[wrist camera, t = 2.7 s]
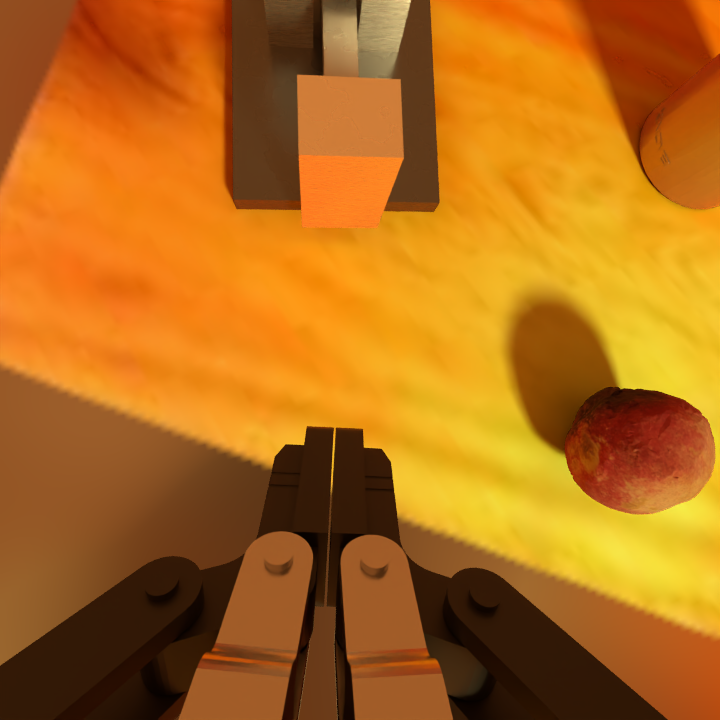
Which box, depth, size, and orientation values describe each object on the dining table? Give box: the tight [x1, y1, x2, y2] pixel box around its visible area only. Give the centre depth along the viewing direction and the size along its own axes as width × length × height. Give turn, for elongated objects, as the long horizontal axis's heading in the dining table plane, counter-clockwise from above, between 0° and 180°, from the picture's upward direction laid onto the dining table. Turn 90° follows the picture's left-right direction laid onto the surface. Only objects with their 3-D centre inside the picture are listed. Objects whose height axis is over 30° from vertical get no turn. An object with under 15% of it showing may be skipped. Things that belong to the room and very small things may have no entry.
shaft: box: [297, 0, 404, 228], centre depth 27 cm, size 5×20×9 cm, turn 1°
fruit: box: [565, 387, 715, 514], centre depth 29 cm, size 8×8×8 cm
